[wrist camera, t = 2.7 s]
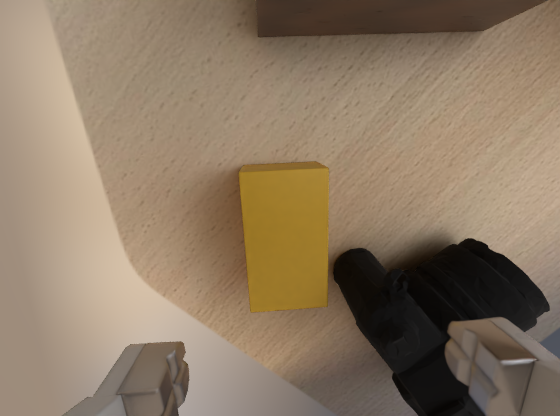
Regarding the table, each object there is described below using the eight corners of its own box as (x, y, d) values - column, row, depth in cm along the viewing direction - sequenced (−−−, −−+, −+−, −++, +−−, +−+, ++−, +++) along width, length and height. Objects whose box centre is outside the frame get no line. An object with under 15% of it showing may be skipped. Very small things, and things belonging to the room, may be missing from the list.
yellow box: (252, 283, 20) (250, 313, 17) (243, 164, 18) (238, 172, 14) (317, 278, 20) (327, 307, 17) (316, 161, 18) (329, 167, 14)
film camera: (509, 317, 22) (663, 432, 14) (414, 378, 24) (501, 519, 15) (421, 182, 19) (558, 224, 10) (313, 263, 20) (352, 362, 11)
